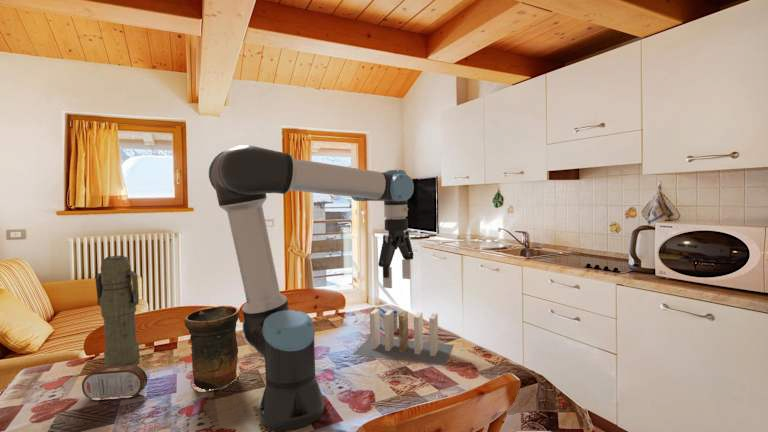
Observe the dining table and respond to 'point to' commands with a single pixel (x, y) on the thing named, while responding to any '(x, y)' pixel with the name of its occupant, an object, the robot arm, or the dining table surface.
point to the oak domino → (403, 331)
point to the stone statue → (118, 310)
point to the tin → (114, 382)
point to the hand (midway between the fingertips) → (397, 283)
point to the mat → (406, 352)
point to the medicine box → (382, 311)
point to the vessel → (213, 346)
